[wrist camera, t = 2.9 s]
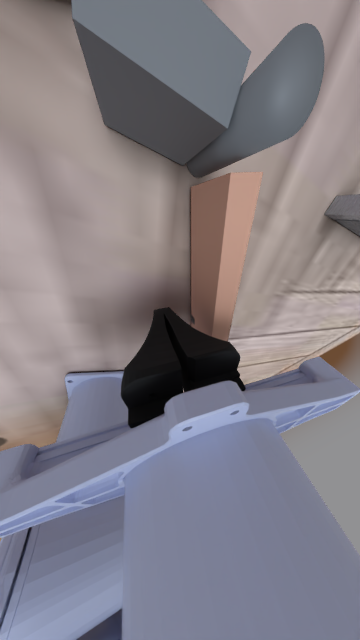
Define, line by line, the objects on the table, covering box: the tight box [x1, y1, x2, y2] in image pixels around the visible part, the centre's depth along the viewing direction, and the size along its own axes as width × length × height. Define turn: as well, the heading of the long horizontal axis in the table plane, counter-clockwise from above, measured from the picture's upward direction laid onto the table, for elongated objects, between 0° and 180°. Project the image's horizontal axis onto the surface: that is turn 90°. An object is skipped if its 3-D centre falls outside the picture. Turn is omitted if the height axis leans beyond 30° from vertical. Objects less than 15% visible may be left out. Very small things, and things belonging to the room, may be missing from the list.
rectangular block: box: [191, 172, 263, 342], centre depth 12 cm, size 13×2×5 cm, turn 3°
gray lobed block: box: [72, 0, 324, 178], centre depth 6 cm, size 2×6×7 cm, turn 73°
